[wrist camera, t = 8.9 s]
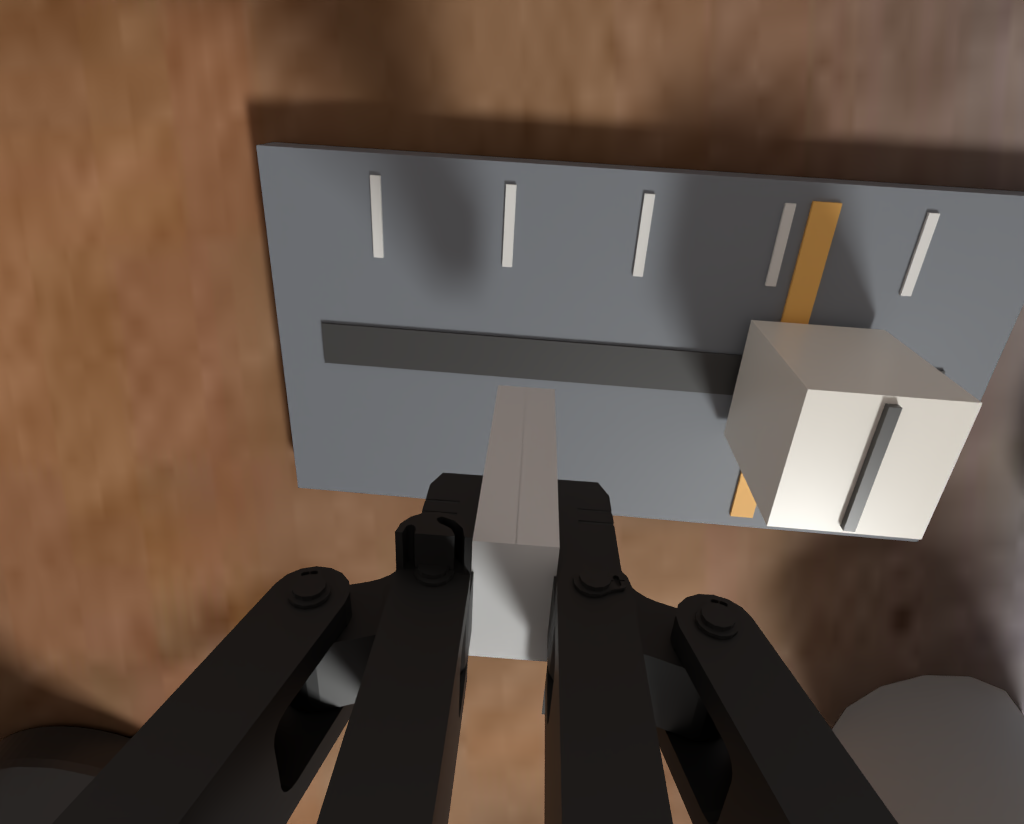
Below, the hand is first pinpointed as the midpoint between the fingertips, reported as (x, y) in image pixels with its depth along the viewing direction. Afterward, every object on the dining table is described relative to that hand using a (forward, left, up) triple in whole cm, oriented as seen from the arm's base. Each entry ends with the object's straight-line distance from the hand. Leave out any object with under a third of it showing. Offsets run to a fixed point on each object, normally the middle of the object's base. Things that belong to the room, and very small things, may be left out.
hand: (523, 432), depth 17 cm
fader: (+9, 0, -4) cm, 10 cm away
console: (+3, 0, -6) cm, 6 cm away
